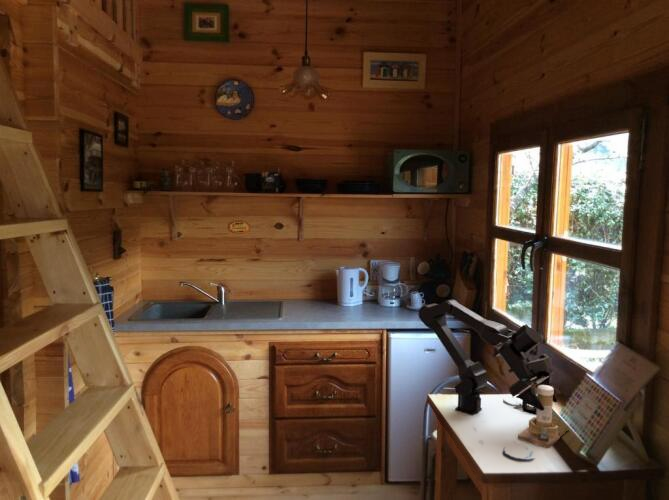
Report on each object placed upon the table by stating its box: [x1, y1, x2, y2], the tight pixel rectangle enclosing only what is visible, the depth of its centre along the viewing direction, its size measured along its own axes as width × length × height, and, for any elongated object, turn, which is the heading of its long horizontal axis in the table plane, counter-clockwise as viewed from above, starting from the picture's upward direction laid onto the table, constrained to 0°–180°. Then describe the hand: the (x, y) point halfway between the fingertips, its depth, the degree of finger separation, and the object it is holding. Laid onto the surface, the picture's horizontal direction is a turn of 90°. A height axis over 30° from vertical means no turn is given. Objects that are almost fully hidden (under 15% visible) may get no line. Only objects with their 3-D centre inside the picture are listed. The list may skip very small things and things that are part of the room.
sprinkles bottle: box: [535, 385, 555, 427], centre depth 164 cm, size 5×5×13 cm
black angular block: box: [513, 400, 537, 416], centre depth 183 cm, size 12×7×5 cm, turn 45°
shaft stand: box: [517, 416, 560, 449], centre depth 165 cm, size 9×16×4 cm, turn 138°
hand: (550, 405), depth 163 cm, fingers open, 9 cm apart
